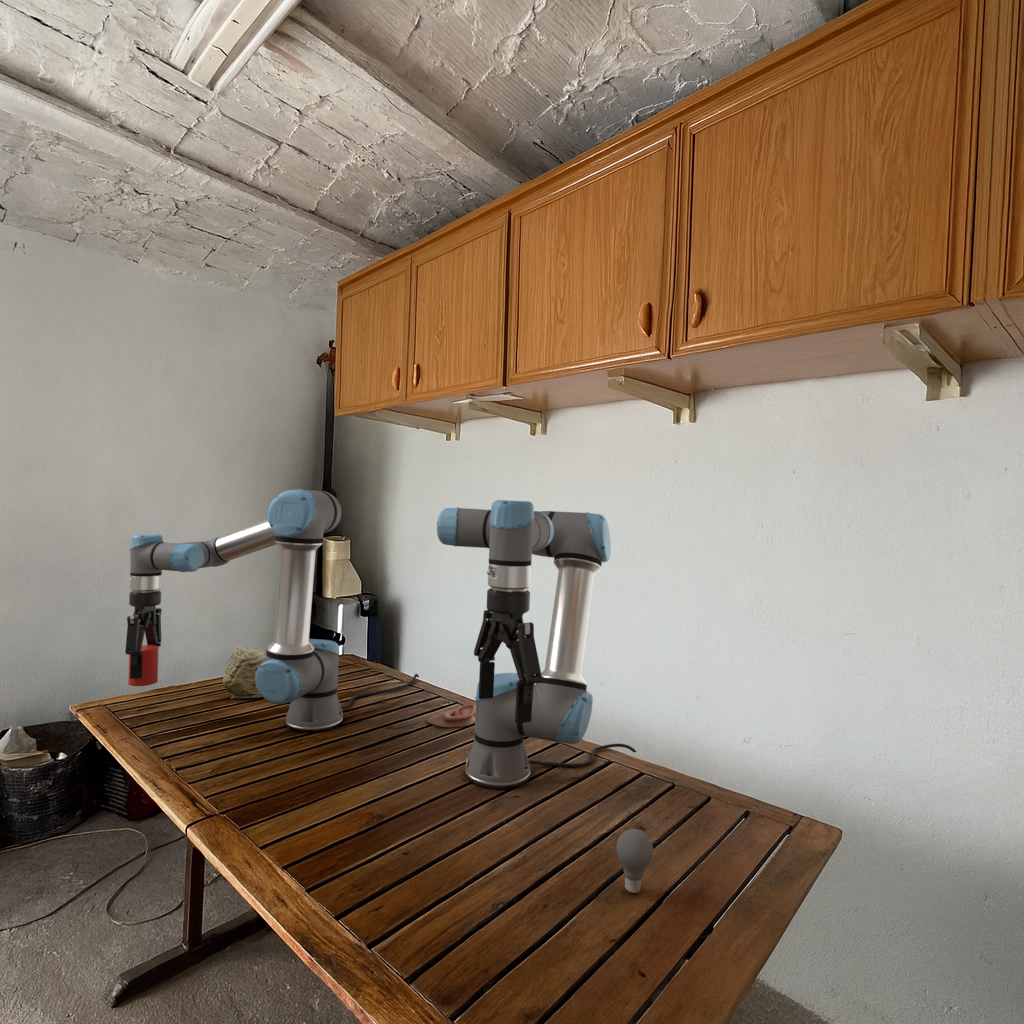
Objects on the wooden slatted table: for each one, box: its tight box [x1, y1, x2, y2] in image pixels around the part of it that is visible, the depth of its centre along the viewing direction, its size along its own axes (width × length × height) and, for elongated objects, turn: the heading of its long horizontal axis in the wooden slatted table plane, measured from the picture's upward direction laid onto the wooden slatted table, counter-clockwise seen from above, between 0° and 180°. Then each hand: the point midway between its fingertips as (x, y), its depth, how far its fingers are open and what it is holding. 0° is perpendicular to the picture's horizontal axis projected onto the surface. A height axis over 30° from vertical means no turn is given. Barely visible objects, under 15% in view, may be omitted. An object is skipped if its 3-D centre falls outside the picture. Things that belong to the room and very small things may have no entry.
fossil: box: [222, 646, 266, 699], centre depth 198 cm, size 9×18×15 cm, turn 132°
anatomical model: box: [426, 703, 476, 728], centre depth 182 cm, size 13×4×12 cm
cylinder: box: [127, 644, 160, 687], centre depth 173 cm, size 7×7×10 cm
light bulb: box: [615, 828, 654, 894], centre depth 106 cm, size 6×6×10 cm
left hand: (143, 674), depth 173 cm, fingers closed on cylinder, 7 cm apart
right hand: (503, 709), depth 111 cm, fingers open, 13 cm apart
